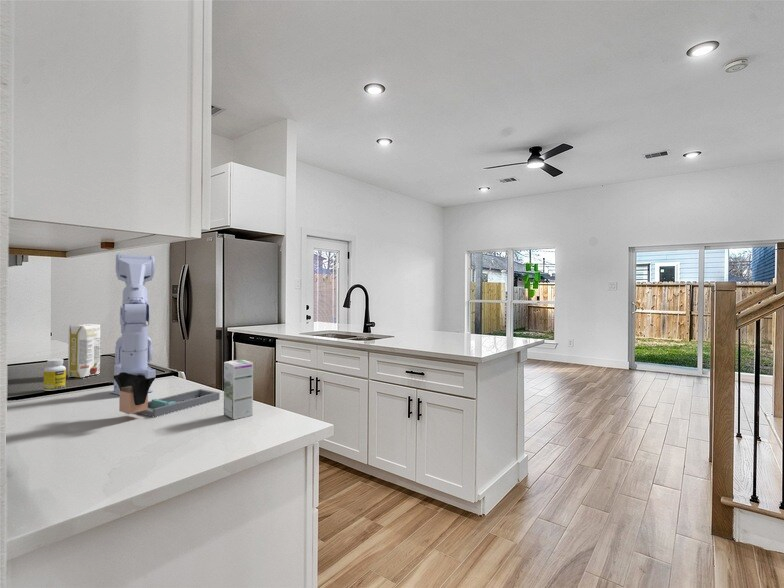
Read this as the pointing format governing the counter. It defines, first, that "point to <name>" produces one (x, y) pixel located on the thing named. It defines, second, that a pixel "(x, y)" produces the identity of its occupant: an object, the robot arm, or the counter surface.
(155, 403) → the pusher
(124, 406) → the tan cardboard cube box
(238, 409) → the syrup box
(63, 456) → the counter surface
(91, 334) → the juice carton
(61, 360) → the supplement bottle
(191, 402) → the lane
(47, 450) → the counter surface
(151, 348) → the robot arm
